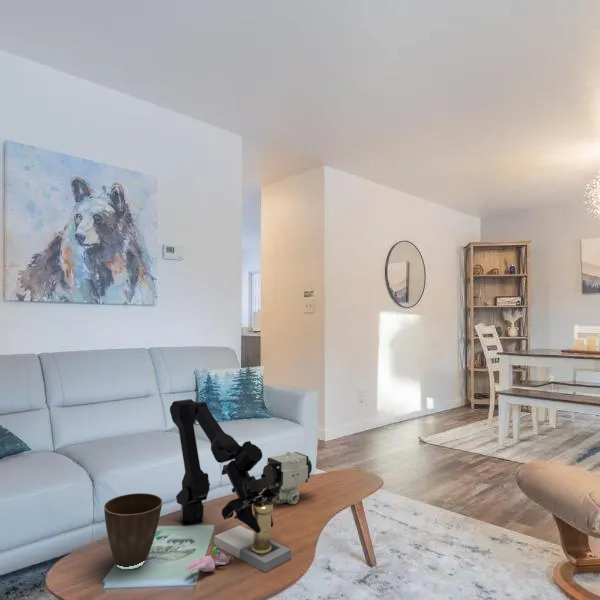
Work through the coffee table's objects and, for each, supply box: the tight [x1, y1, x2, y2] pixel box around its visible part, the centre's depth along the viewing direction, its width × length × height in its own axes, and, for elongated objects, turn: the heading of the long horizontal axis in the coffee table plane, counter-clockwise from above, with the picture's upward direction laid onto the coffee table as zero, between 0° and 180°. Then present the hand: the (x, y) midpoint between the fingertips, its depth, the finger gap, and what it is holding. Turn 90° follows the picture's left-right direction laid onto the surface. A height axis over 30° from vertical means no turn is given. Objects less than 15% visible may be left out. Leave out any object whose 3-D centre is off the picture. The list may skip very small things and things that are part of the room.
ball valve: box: [262, 451, 313, 505], centre depth 174 cm, size 18×8×18 cm, turn 131°
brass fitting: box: [251, 501, 274, 557], centre depth 134 cm, size 6×6×13 cm
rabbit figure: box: [185, 545, 234, 573], centre depth 126 cm, size 6×6×15 cm
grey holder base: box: [213, 525, 292, 573], centre depth 136 cm, size 22×10×2 cm, turn 49°
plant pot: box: [103, 492, 163, 567], centre depth 128 cm, size 15×15×16 cm
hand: (265, 529), depth 133 cm, fingers closed on brass fitting, 5 cm apart
